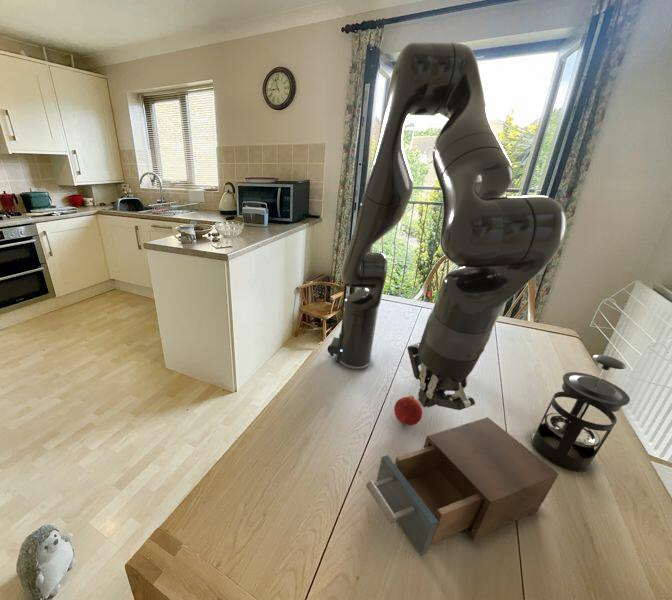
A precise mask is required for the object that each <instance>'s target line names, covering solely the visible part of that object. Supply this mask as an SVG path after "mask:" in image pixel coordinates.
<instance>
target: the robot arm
mask: <svg viewBox="0 0 672 600" xmlns="http://www.w3.org/2000/svg"><path fill="white" fill-rule="evenodd" d="M441 115H442V116H443V117H445V118H446V119H447V121H446V122H445V123H444V125H443V126H442V128H441V129H440V131H439V132H438V135H437V136H436V138H435V141H434V144H433V148H432V154H431V156H432V159H431V160H432V166H433V169H434V172H435V175H436V178H437V181H438V184H439V187H440V191H441V195H442V216H441V217H442V219H441V226H440V232H439V233H440V234H439V245H440V249H441V252H442V254H443V255H444V257H446V258H447V260H448V261H450V262H451V263H452V264H453V265H455V266H458V268H455V269H453V270H451V271H449V272H448V273H447V274H446V275H445V276H444V278H443V280H442V282H441V285H440V287H439V290H438V293H437V296H436V299H435V302H434V306H433V308H432V309H431V312H430V313H429V315H428V318H427V320H426V324H425V327H424V329H423V333H422V335H421V339H420V342H417V343H414V344H411V345H408V346H407V353H408V357H409V362H410V365H411V370H412V373H413V377H414V378H415V380H419V387H420V388H419V391H418V393H417V395H418V400H417V401H418V402H419V403H420V405H421V407H422V408H427V409H429V408H432V407H434V406H437V407H441V408H445V409H451V410H456V411H462V410H464V409H467V408H469V407H472V406H474V405H475V404H476V401H475V399H474V398H473V397H472V396H469V395H467V393H466V390H465V388H466V387H467V385H468V381H467V378H468V376H469V375H470V374H471V373H472V372H473V370H474V368H475V367H476V365H477V363H478V361H479V359H480V357H481V356H482V354H483V352H484V351H485V348H486V346H487V345H488V342H489V340H490V338H491V336H492V333H493V329H494V326H495V325H496V322H497V321H498V320H499V317H500V316H501V313H502V312H503V309H504V307H505V305H506V304H507V302H509V301H510V300H511V299H512V298H514V297H515V296H516V295H517V294H518V293H519V292H520V291H521V290H522V289H524V287H525V286H526V285H527V284H529V283H530V282H531V281H532V280H533V279H534V278H536V276H537V275H538V274H539V273H541V271H543V270H544V269H545V268H546V267H547V265H548V264H549V263H550V262H551V261H552V260H553V259H554V257H555V256H556V254H557V253H558V251H559V250H560V248H561V247H562V244H563V242H564V240H565V236H566V233H567V232H566V231H567V225H568V224H567V216H566V212H565V210H564V208H563V206H562V205H561V203H559V202H558V201H557V200H555V199H554V198H553V197H552V198H551V197H549V196H546V195H521V196H505V197H503V195H504V194H505V193H506V192H507V191H508V190H509V189H510V187H511V185H512V183H513V179H514V170H513V165H512V163H511V161H510V159H509V157H508V155H507V153H506V151H505V149H504V148H503V145H502V144H501V142H500V140H499V138H498V136H497V135H496V133H495V131H494V129H493V127H492V125H491V121H490V119H489V115H488V111H487V107H486V101H485V94H484V89H483V85H482V79H481V75H480V70H479V65H478V61H477V58H476V56H475V53H474V51H473V49H471V47H469V46H468V45H467V44H463V43H458V42H431V41H413V42H409V43H407V44H406V45H405V46H404V47H403V48H402V49H401V50H400V53H399V54H398V56H397V58H396V61H395V64H394V67H393V70H392V73H391V78H390V81H389V87H388V90H387V95H386V100H385V105H384V110H383V115H382V119H381V123H380V124H381V126H380V130H379V135H378V140H377V143H376V148H375V152H374V156H373V160H372V163H371V167H370V168H369V169H370V170H369V173H368V177H367V179H366V183H365V186H364V190H363V193H362V197H361V201H360V205H359V210H358V213H357V218H356V222H355V227H354V230H353V233H352V236H351V238H350V242H349V243H348V247H347V249H346V252H345V255H344V258H343V261H342V264H341V271H340V272H341V273H340V274H341V281H342V283H343V284H344V285H345V286H346V287H348V288H361V289H360V290H358V291H356V292H353V293H350V294H348V295H347V296H346V297H345V298H344V300H343V310H342V318H341V328H340V332H339V334H338V337H336V336H334V337H333V339H332V341H331V343H330V344H329V345H328V346H327V350H326V351H327V352H328V354H329V355H330V356H331V357H334V355H336V363H338V364H340V365H342V366H343V367H345V368H348V369H350V370H363V369H366V368H368V367H369V366H370V364H371V356H372V349H373V344H374V337H375V331H376V326H377V319H378V313H379V307H380V305H381V302H382V298H383V292H384V288H385V284H386V280H387V274H388V260H387V257H386V255H385V254H384V253H383V252H380V251H379V252H378V251H377V252H376V251H369V250H370V248H371V247H372V246H374V245H375V244H376V243H377V242H378V241H379V240H381V239H383V237H384V236H386V235H387V234H388V233H389V232H390V231H392V230H393V229H394V228H395V227H396V226H397V225H398V224H399V223H400V222H401V220H402V218H403V216H404V214H405V212H406V209H407V207H408V204H409V202H410V199H411V198H412V194H413V190H414V189H413V188H414V180H413V176H412V173H411V170H410V166H409V163H408V160H407V157H406V154H405V153H406V152H405V148H404V140H403V137H404V130H405V125H406V121H407V118H408V117H409V116H430V117H431V116H441ZM446 391H448V392H450V391H451V392H454V393H446Z"/></svg>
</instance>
